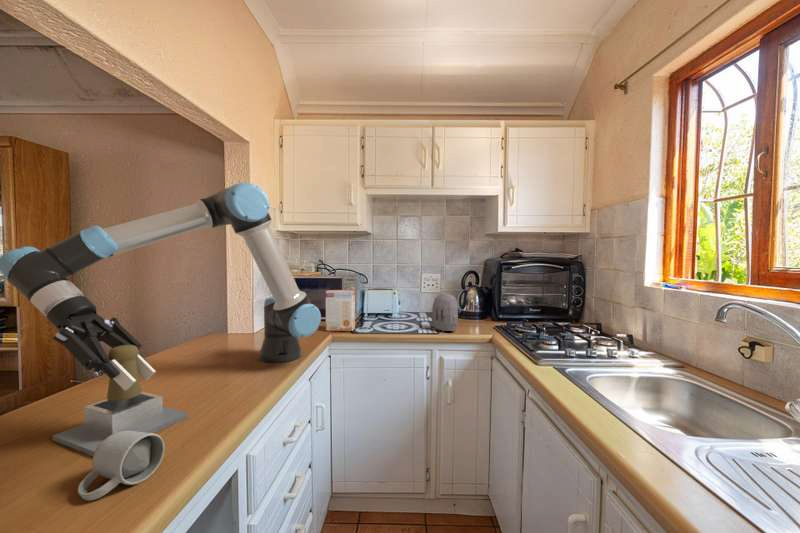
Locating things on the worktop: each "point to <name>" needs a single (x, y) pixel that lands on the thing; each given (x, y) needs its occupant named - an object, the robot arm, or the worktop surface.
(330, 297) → the cracker box
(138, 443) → the ceramic mug
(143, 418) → the metal collar
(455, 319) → the small grey backpack
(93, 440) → the base plate
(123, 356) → the cork
